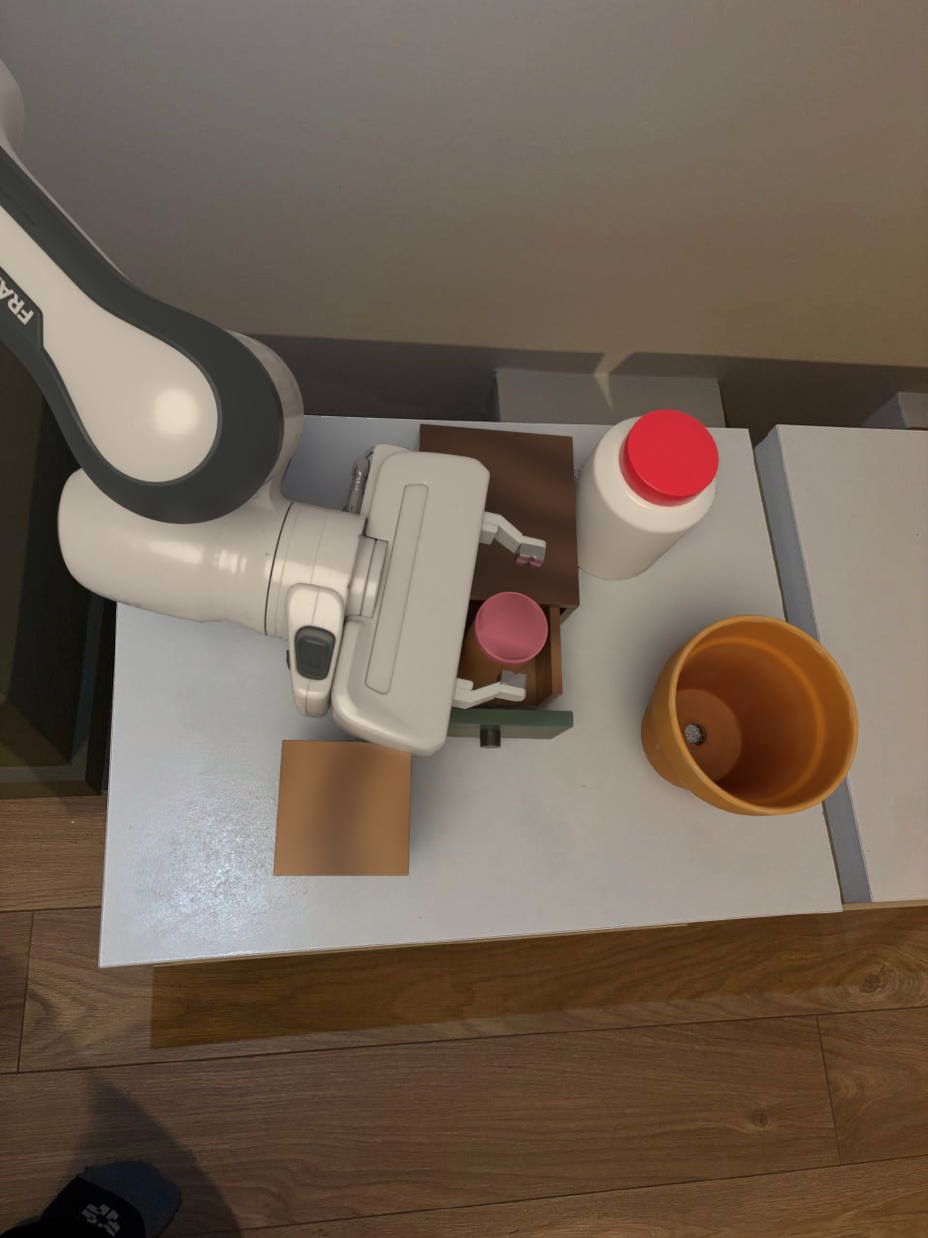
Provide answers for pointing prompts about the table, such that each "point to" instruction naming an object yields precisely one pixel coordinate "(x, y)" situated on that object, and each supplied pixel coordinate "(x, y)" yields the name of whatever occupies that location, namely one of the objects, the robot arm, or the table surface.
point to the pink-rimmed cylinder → (502, 638)
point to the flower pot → (753, 718)
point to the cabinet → (521, 509)
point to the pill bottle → (643, 492)
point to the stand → (342, 810)
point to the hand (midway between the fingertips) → (534, 620)
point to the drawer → (539, 693)
